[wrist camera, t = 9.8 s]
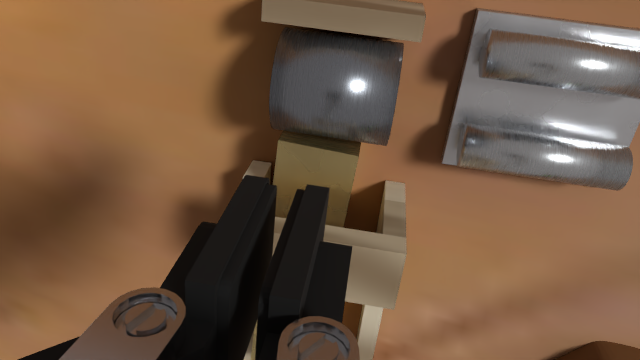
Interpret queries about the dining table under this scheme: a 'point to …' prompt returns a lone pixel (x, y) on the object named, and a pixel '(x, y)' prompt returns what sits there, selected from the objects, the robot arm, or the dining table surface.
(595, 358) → the plant
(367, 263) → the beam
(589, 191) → the dining table surface
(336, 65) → the dark grey short cylinder
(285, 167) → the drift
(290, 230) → the robot arm
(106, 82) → the dining table surface
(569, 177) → the v block
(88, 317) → the dining table surface
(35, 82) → the dining table surface
